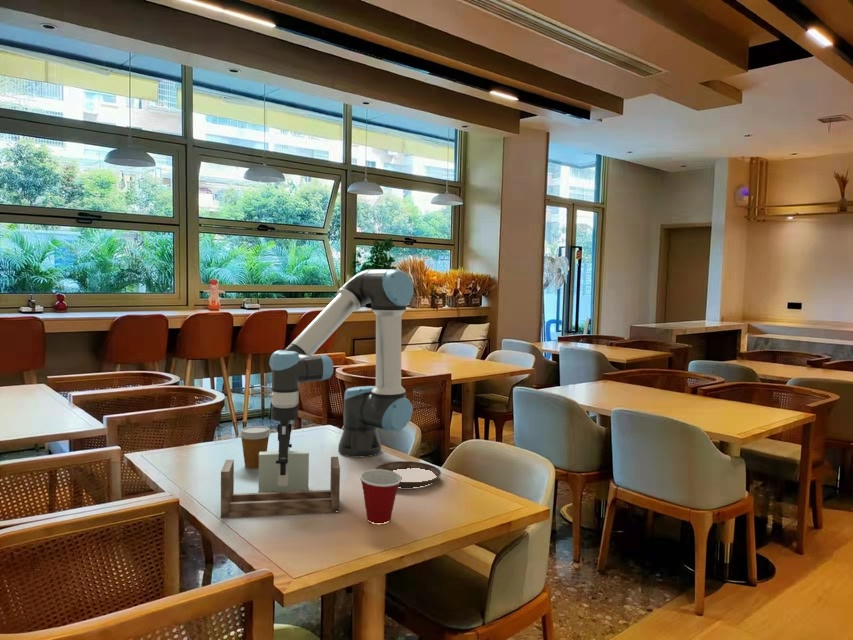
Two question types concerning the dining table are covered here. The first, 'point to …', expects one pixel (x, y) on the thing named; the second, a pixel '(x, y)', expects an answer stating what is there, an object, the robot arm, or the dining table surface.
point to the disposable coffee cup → (254, 444)
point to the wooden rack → (278, 497)
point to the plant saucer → (409, 464)
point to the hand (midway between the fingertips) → (283, 477)
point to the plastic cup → (379, 493)
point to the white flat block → (296, 471)
